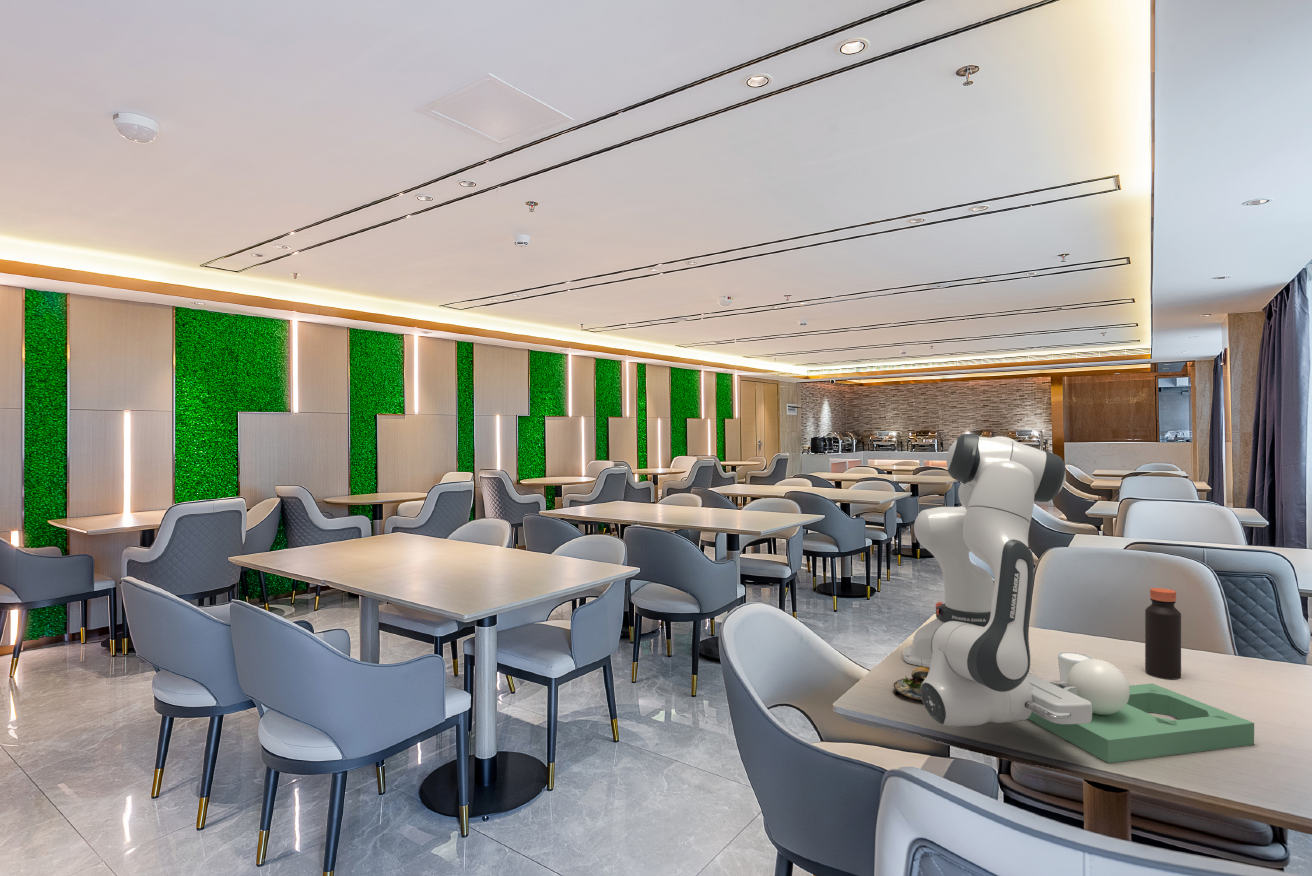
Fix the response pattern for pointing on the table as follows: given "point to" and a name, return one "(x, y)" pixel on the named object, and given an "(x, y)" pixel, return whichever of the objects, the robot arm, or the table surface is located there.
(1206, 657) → the table surface
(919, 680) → the burger
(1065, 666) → the white cup
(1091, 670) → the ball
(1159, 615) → the bottle
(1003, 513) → the robot arm
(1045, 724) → the green cutout tray
